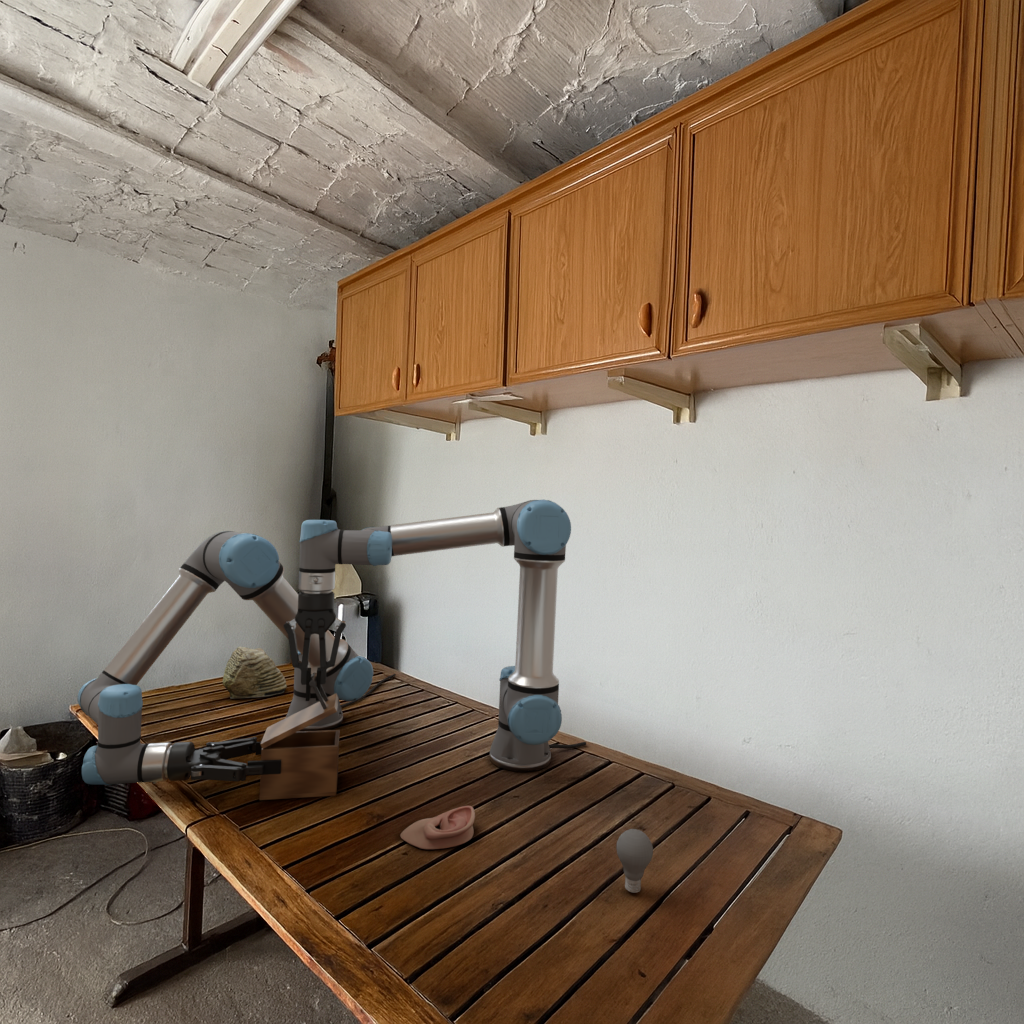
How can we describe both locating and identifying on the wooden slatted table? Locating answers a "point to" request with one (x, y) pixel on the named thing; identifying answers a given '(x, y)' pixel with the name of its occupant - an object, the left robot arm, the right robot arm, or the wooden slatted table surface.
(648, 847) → the light bulb
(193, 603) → the left robot arm
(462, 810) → the anatomical model
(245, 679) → the fossil
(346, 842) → the wooden slatted table surface
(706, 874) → the wooden slatted table surface
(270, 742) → the lid
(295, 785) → the chest
